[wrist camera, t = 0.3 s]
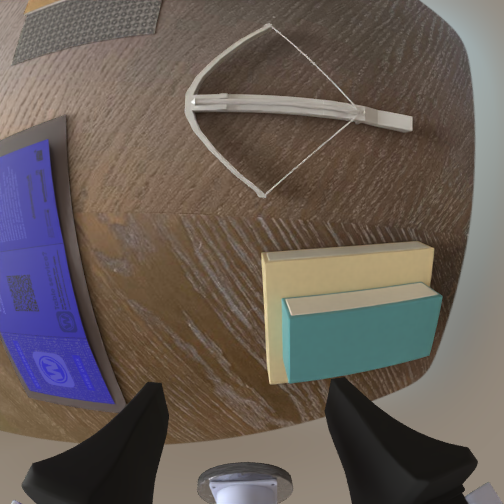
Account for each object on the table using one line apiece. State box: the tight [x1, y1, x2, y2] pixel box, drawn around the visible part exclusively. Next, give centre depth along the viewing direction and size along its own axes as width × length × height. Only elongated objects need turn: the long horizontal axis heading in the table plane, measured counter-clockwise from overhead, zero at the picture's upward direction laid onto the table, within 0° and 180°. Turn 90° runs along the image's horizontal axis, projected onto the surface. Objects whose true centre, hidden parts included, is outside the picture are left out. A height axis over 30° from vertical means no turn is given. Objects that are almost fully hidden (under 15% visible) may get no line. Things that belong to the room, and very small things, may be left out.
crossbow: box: [184, 24, 412, 198], centre depth 18 cm, size 16×13×2 cm
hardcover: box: [261, 241, 434, 384], centre depth 21 cm, size 10×13×2 cm
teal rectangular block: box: [282, 282, 442, 383], centre depth 19 cm, size 5×11×3 cm, turn 93°
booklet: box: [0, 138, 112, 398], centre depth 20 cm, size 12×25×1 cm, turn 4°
